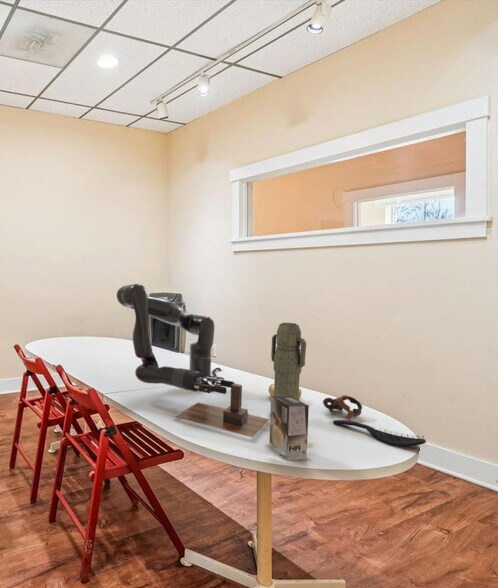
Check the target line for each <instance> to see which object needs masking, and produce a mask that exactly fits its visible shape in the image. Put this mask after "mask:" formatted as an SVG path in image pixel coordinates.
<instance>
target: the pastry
mask: <svg viewBox="0 0 498 588" xmlns="http://www.w3.org/2000/svg"><path fill="white" fill-rule="evenodd" d="M268 394H269V397H270V398H271V397H272V396H273V395H274V383H271V384H270V385H269V386H268ZM301 397H302V389H300V388H299V400H300V399H301Z"/></svg>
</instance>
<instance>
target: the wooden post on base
mask: <svg viewBox="0 0 498 588" xmlns="http://www.w3.org/2000/svg"><path fill="white" fill-rule="evenodd" d="M242 395H243V385H242V384H240V383H235V384H232V385H231V388H230V405H229V406H228V407H227V408H224V409H225V410H224V411H223V422H225V423H229V424H233V425H237V426H242V425H243V424H244V423H245V422H247V419H248V414H249V410H248V409H246V408H244V407H243V408H242V397H243V396H242Z"/></svg>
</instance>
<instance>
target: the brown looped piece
mask: <svg viewBox="0 0 498 588" xmlns="http://www.w3.org/2000/svg"><path fill="white" fill-rule="evenodd" d="M347 400H348V401H349V403H351V404H354V405H356V406H357V408H353V409H352V410H351V406H350V405H348V404H347V403H345V401H347ZM329 403H330V404H329ZM322 404H323V406H324V407H325V408H326V409H328V411H329V412H330V413H333V411H334V410H337V411H341V412H342V411H343V410H344V411H345V412H347V414H346V415H345V419H347V420H351V419H353V418H356V417H358V416H360V415H361V413H362V409H363V405H362V404H361V402H360V401H359V400H357V399H356V398H354V397H352V396H349V395H345V394H344V395H341V396H338V397H335V398H331V397H326V398H323V400H322Z"/></svg>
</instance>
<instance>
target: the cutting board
mask: <svg viewBox="0 0 498 588" xmlns="http://www.w3.org/2000/svg"><path fill="white" fill-rule="evenodd" d="M225 409H226V408H222V407H218V406H214V405H210V404H205V403H202V402H196V403H195V404H193V405H192V406H190V407H188V408H187V409H185V410H184V411H181V413H179V414H177V415H176V416H175V418H179V419H182V420H186V421H189V422H194V423H197V424H202V425H205V426H209V427H212V428H216V429H220V430H223V431H227V432H230V433H234V434H238V435H242V436H246V437H250V438H254V437H255V435H257V433H258V432H259V431H260V430H262V428H263V427H264V426H265V425H266V424H267V423H268V422H269V421H270V418H265V417H261V416H257V415H253V414H249V413H248V419H247V422H245V423H244V424H243V425H242V426H237V425H233V424H229V423H225V422H223V411H224V410H225Z"/></svg>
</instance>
